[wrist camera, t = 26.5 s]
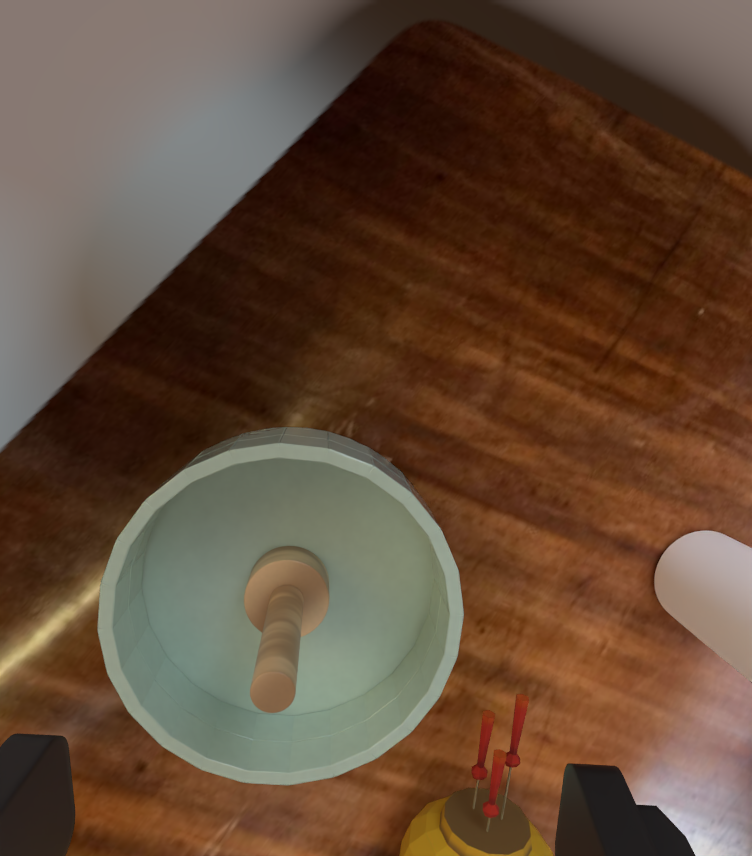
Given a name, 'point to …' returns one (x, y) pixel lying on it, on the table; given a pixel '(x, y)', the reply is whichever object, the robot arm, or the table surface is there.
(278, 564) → the wooden stamp
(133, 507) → the table surface
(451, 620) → the mixing bowl
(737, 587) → the can
